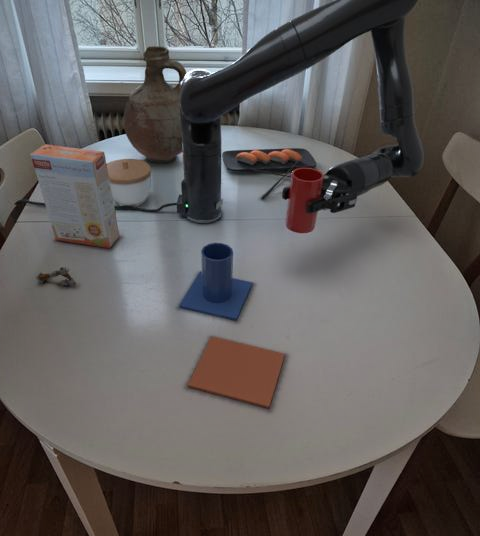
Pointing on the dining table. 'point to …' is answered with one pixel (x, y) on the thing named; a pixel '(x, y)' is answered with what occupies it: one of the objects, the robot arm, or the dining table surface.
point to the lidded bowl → (129, 181)
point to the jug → (155, 109)
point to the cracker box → (77, 194)
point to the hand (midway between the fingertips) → (295, 201)
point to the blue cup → (217, 272)
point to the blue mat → (224, 309)
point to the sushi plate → (268, 161)
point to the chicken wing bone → (62, 271)
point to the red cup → (303, 199)
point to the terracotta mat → (238, 371)
